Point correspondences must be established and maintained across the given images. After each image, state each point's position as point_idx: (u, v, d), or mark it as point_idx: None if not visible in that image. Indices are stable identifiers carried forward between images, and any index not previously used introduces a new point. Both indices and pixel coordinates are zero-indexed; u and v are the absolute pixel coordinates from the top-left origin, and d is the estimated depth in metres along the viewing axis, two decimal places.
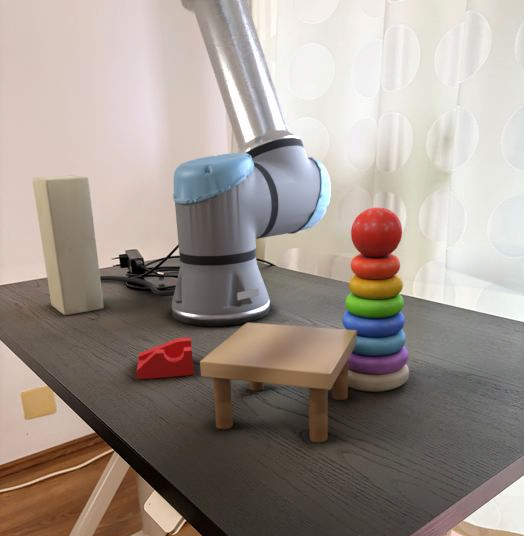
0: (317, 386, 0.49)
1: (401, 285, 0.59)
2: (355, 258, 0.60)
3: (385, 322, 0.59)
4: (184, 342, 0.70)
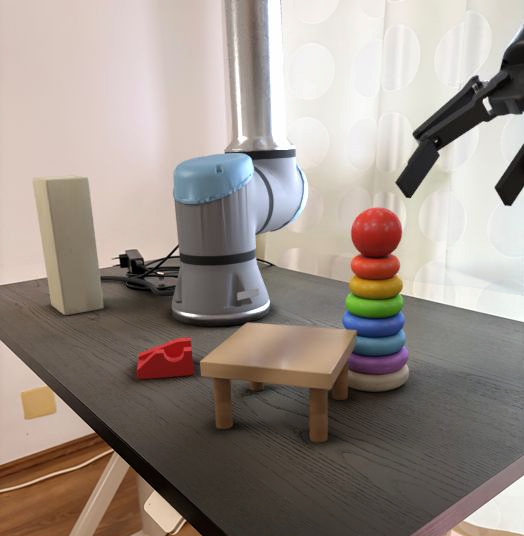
0: (317, 386, 0.49)
1: (401, 285, 0.59)
2: (355, 258, 0.60)
3: (385, 322, 0.59)
4: (184, 342, 0.70)
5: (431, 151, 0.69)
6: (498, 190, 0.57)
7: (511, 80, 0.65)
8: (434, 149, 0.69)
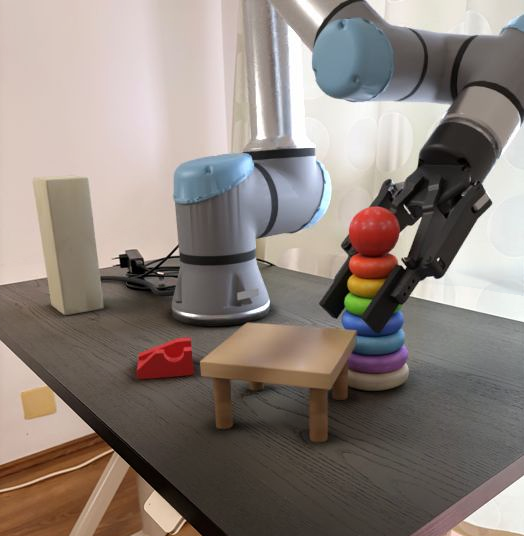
0: (317, 386, 0.49)
1: None
2: (353, 257, 0.60)
3: None
4: (184, 342, 0.70)
5: None
6: (364, 320, 0.57)
7: (426, 181, 0.62)
8: None
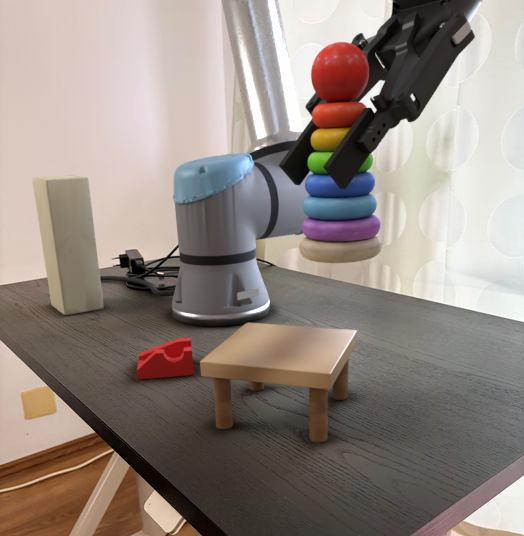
0: (317, 386, 0.49)
1: None
2: (316, 106, 0.52)
3: None
4: (184, 342, 0.70)
5: None
6: (328, 170, 0.50)
7: (401, 24, 0.54)
8: None
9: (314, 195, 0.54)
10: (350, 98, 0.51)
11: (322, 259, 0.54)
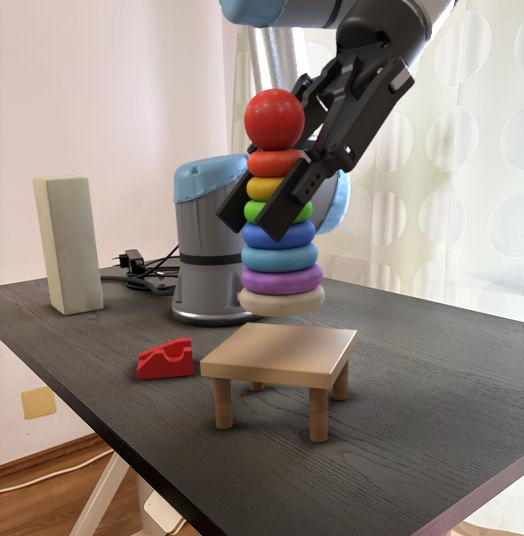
0: (317, 386, 0.49)
1: None
2: (251, 154, 0.50)
3: None
4: (184, 342, 0.70)
5: None
6: (259, 224, 0.47)
7: (342, 66, 0.52)
8: None
9: (251, 246, 0.51)
10: (284, 146, 0.49)
11: (259, 312, 0.52)
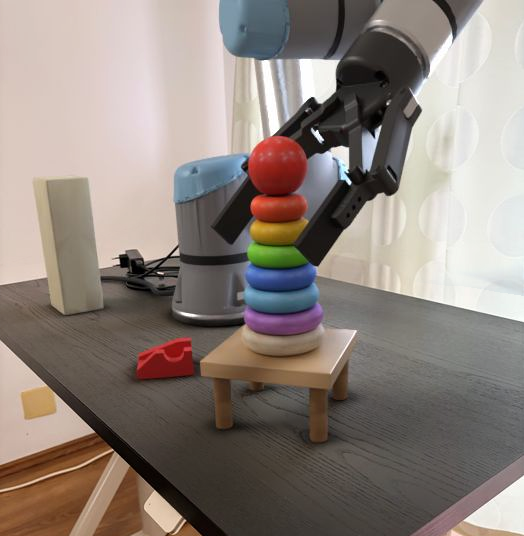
0: (317, 386, 0.49)
1: None
2: (254, 198, 0.51)
3: (289, 273, 0.51)
4: (184, 342, 0.70)
5: None
6: (298, 248, 0.46)
7: (341, 105, 0.53)
8: None
9: (253, 287, 0.53)
10: (288, 192, 0.50)
11: (261, 352, 0.53)
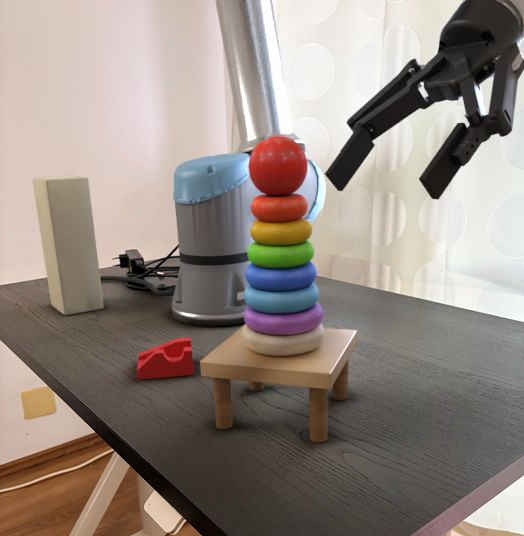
0: (317, 386, 0.49)
1: (308, 230, 0.51)
2: (255, 198, 0.51)
3: (289, 273, 0.51)
4: (184, 342, 0.70)
5: (364, 140, 0.64)
6: (423, 182, 0.52)
7: (447, 63, 0.60)
8: (368, 138, 0.64)
9: (253, 287, 0.53)
10: (288, 192, 0.50)
11: (261, 352, 0.53)
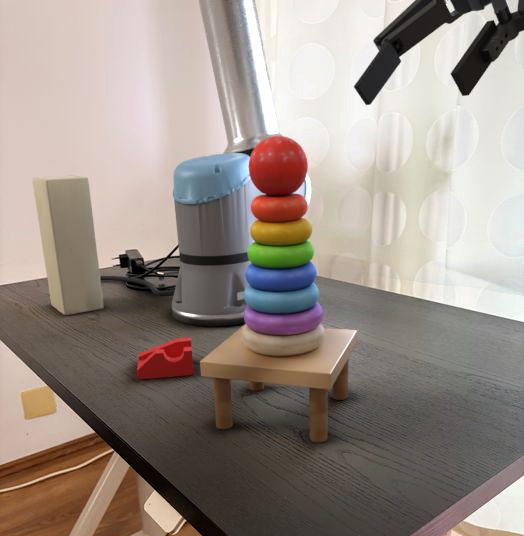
0: (317, 386, 0.49)
1: (308, 230, 0.51)
2: (255, 198, 0.51)
3: (289, 273, 0.51)
4: (184, 342, 0.70)
5: (391, 55, 0.66)
6: (454, 76, 0.55)
7: None
8: (395, 53, 0.66)
9: (253, 287, 0.53)
10: (288, 192, 0.50)
11: (261, 352, 0.53)
